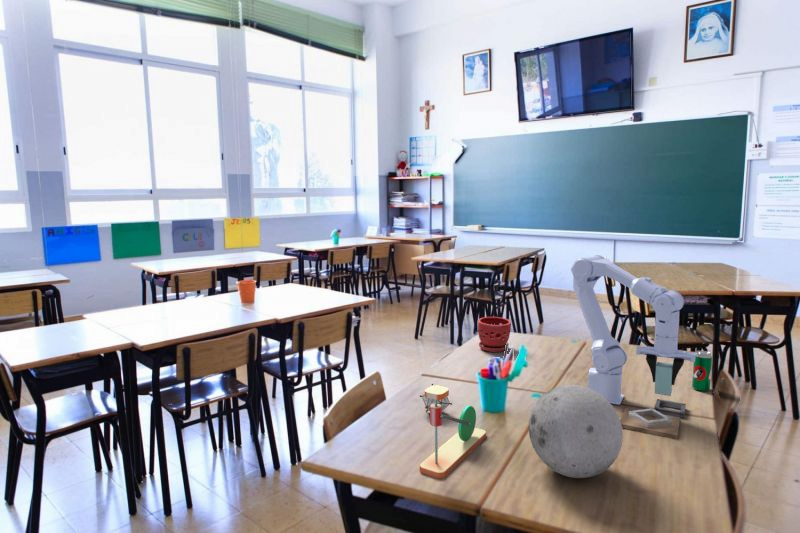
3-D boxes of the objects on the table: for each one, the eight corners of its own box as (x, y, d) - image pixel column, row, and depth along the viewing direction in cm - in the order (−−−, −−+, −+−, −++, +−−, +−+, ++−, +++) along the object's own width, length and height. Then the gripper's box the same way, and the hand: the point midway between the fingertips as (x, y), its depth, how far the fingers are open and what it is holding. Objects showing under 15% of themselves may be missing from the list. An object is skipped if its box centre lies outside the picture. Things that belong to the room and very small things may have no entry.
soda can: (712, 392, 163) (715, 355, 162) (694, 391, 164) (697, 354, 163) (706, 386, 168) (709, 350, 167) (689, 385, 169) (691, 349, 168)
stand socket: (654, 413, 149) (654, 408, 149) (656, 403, 156) (657, 398, 155) (683, 418, 145) (684, 413, 145) (685, 408, 152) (685, 403, 152)
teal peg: (654, 393, 146) (656, 365, 144) (655, 388, 149) (657, 361, 148) (670, 396, 144) (672, 368, 142) (671, 391, 147) (673, 363, 146)
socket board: (618, 426, 141) (618, 418, 141) (625, 410, 151) (625, 402, 151) (676, 438, 134) (677, 429, 134) (680, 421, 144) (680, 412, 144)
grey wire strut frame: (442, 424, 153) (463, 400, 150) (424, 423, 147) (446, 398, 144) (426, 401, 159) (446, 377, 156) (408, 399, 153) (428, 375, 150)
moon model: (639, 477, 116) (644, 391, 113) (580, 508, 106) (584, 414, 103) (567, 442, 133) (569, 366, 130) (509, 466, 122) (510, 384, 119)
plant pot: (475, 352, 207) (475, 323, 206) (479, 343, 220) (479, 315, 218) (509, 355, 204) (509, 325, 202) (511, 345, 216) (511, 317, 215)
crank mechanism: (442, 480, 117) (441, 397, 114) (417, 471, 121) (415, 392, 118) (488, 435, 138) (488, 365, 135) (465, 429, 141) (465, 361, 139)
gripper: (635, 335, 144) (633, 382, 146) (696, 342, 137) (692, 391, 139) (638, 329, 150) (636, 374, 152) (696, 335, 143) (693, 383, 145)
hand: (663, 382), depth 146 cm, fingers closed on teal peg, 4 cm apart
